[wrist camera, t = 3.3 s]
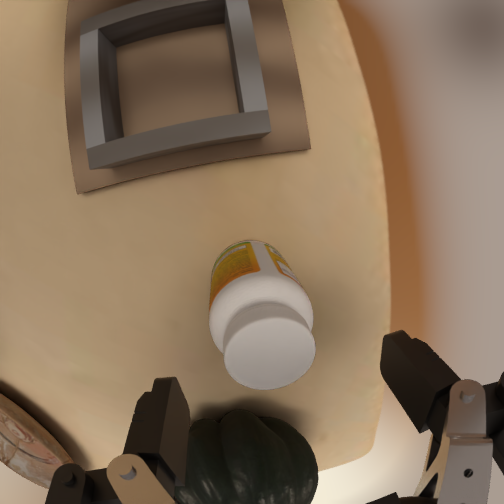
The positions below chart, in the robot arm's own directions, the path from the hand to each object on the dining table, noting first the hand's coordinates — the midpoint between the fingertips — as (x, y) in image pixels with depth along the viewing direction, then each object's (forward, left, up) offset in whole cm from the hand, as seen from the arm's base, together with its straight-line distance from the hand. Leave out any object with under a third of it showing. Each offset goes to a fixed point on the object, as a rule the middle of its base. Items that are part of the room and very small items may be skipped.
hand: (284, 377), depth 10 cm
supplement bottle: (0, 0, -12) cm, 12 cm away
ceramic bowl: (-39, +13, -12) cm, 43 cm away
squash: (-16, -10, -12) cm, 22 cm away
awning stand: (+13, +17, -11) cm, 24 cm away
